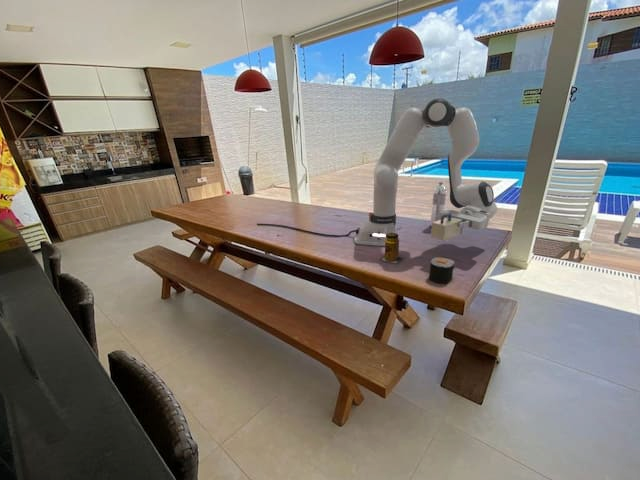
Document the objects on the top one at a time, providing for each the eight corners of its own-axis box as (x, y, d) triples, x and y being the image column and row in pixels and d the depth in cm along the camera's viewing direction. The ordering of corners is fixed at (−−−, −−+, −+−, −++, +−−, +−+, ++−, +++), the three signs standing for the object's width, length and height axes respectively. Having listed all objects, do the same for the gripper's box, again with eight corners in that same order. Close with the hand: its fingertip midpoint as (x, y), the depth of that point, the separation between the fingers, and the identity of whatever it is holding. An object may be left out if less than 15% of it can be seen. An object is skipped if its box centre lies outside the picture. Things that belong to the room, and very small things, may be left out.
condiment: (380, 260, 139) (381, 235, 134) (390, 253, 145) (391, 229, 140) (395, 263, 135) (396, 238, 130) (404, 257, 140) (405, 232, 135)
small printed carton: (443, 240, 125) (446, 218, 121) (430, 236, 130) (433, 214, 126) (461, 233, 131) (464, 212, 127) (448, 230, 136) (451, 209, 132)
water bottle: (443, 228, 173) (448, 183, 162) (430, 228, 174) (434, 183, 163) (441, 224, 179) (446, 181, 168) (429, 224, 180) (433, 181, 169)
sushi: (446, 285, 116) (449, 266, 112) (425, 279, 121) (427, 261, 117) (455, 277, 121) (457, 259, 117) (434, 271, 126) (436, 254, 123)
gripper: (450, 205, 142) (431, 210, 136) (493, 213, 127) (474, 221, 120) (448, 218, 145) (429, 224, 138) (490, 228, 130) (471, 236, 123)
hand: (450, 223), depth 129 cm, fingers closed on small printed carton, 6 cm apart
